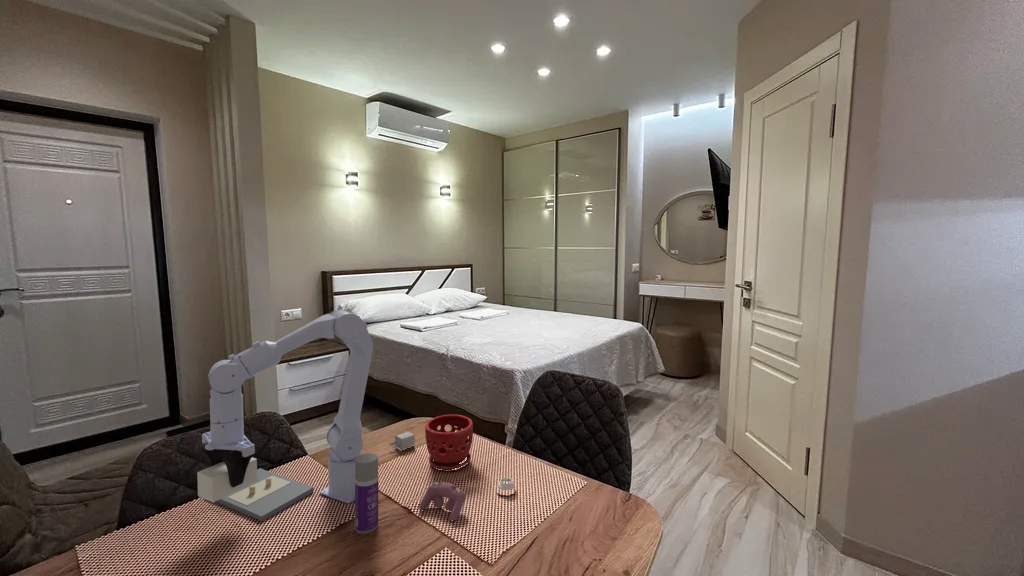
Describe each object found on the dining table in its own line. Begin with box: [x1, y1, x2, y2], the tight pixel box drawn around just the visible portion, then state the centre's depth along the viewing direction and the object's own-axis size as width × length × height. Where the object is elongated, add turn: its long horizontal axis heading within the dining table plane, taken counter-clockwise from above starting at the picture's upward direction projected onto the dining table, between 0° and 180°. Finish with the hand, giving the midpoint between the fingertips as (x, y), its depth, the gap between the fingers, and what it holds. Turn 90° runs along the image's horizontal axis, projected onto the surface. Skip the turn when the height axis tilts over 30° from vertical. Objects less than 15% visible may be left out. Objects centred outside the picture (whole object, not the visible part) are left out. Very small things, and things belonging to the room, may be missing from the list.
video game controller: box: [418, 481, 467, 522], centre depth 95 cm, size 10×5×7 cm, turn 66°
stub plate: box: [214, 467, 314, 522], centre depth 99 cm, size 20×13×3 cm, turn 65°
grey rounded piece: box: [497, 477, 515, 490], centre depth 103 cm, size 5×3×5 cm
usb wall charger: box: [388, 431, 416, 450], centre depth 125 cm, size 4×7×4 cm, turn 137°
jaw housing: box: [196, 456, 258, 503], centre depth 88 cm, size 5×9×5 cm, turn 155°
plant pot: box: [424, 414, 474, 470], centre depth 116 cm, size 13×13×12 cm
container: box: [354, 452, 379, 534], centre depth 88 cm, size 5×5×15 cm
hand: (228, 481), depth 88 cm, fingers closed on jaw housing, 5 cm apart
